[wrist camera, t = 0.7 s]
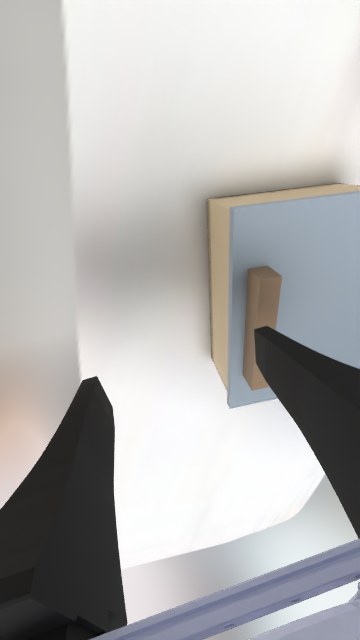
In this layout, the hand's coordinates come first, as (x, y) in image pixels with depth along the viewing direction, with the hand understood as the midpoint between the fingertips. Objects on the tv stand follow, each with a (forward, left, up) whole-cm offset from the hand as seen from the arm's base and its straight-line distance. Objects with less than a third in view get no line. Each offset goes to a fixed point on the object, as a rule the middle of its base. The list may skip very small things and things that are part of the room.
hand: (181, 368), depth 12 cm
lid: (-2, -9, -5) cm, 11 cm away
